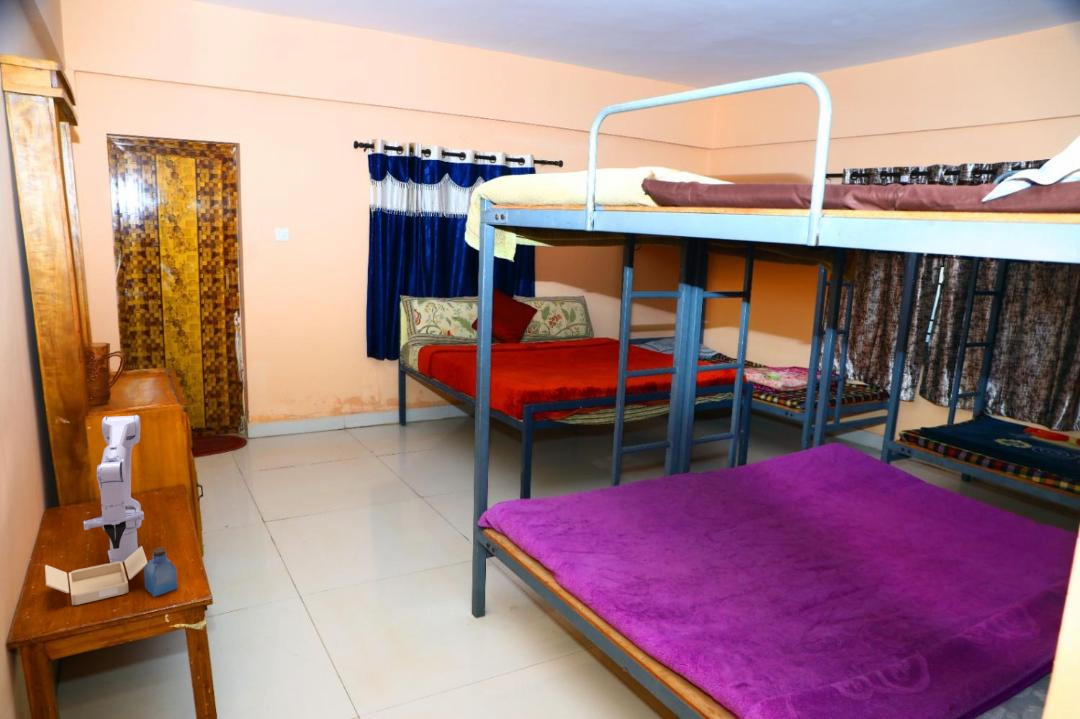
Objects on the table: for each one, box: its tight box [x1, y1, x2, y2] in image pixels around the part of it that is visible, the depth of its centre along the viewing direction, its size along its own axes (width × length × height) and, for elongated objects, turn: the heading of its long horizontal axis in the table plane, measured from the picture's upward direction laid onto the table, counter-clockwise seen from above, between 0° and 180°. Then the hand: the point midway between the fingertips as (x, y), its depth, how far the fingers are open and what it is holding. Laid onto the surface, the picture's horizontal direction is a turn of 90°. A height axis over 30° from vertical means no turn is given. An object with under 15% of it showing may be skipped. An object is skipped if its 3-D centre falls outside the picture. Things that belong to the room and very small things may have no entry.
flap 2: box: [123, 545, 149, 581], centre depth 201 cm, size 12×1×6 cm
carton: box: [68, 561, 129, 606], centre depth 196 cm, size 15×13×3 cm
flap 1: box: [44, 564, 70, 594], centre depth 190 cm, size 12×1×6 cm
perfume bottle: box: [143, 546, 178, 598], centre depth 197 cm, size 6×6×12 cm
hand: (116, 547), depth 198 cm, fingers closed
